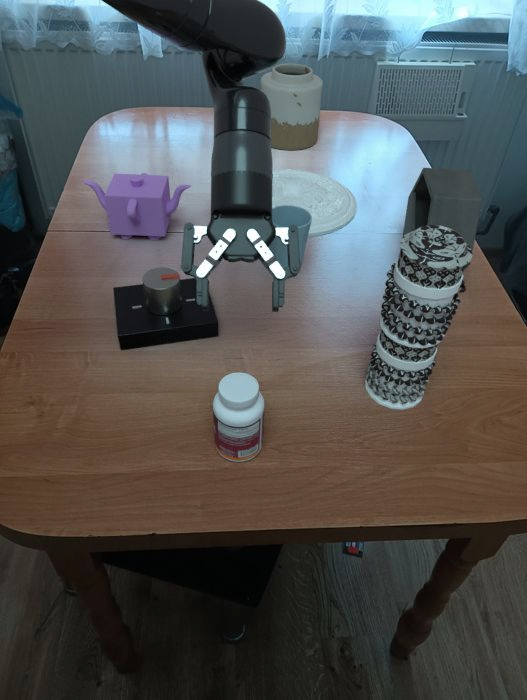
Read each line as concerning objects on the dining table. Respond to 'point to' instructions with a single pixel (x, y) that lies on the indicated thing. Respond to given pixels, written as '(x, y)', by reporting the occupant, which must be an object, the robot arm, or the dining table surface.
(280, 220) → the cup
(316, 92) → the vase
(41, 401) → the dining table surface
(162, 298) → the hob knob
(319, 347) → the dining table surface
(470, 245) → the planter
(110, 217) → the teapot
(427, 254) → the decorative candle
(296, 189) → the ceiling medallion
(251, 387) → the pill bottle
